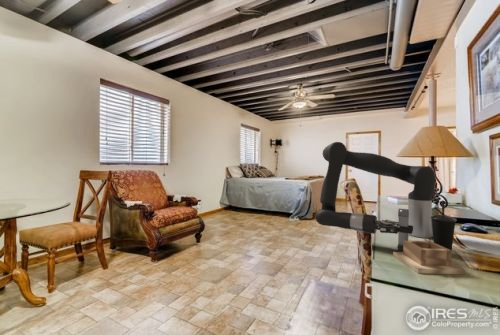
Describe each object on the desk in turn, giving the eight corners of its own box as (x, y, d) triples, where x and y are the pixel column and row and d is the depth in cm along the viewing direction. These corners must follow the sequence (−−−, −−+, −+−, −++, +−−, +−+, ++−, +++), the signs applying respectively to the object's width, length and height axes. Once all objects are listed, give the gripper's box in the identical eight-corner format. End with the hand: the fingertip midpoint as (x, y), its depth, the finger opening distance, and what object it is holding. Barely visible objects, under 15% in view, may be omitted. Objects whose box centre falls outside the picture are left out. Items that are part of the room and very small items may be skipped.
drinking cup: (450, 259, 84) (450, 203, 84) (426, 252, 91) (426, 200, 91) (460, 255, 88) (460, 202, 87) (436, 249, 94) (436, 199, 94)
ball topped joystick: (398, 249, 94) (399, 207, 93) (409, 251, 91) (409, 208, 91) (397, 252, 91) (397, 209, 90) (408, 254, 88) (408, 210, 88)
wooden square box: (432, 256, 87) (432, 239, 86) (464, 274, 73) (465, 253, 73) (393, 255, 87) (393, 238, 87) (418, 273, 73) (418, 252, 73)
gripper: (359, 217, 94) (411, 223, 83) (367, 211, 105) (413, 216, 95) (359, 235, 94) (411, 244, 84) (366, 228, 105) (413, 235, 95)
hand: (412, 229), depth 89 cm, fingers closed on ball topped joystick, 3 cm apart
